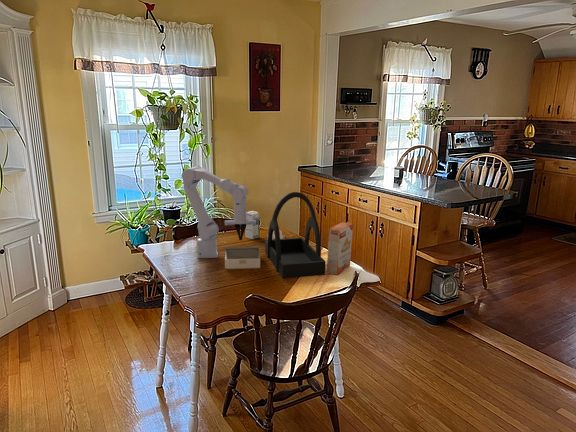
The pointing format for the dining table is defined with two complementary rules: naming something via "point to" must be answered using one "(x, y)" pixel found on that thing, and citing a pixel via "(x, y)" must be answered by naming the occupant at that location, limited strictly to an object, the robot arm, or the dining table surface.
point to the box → (242, 258)
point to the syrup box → (252, 230)
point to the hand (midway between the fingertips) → (240, 239)
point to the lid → (242, 248)
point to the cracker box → (339, 248)
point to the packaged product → (280, 235)
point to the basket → (295, 246)
